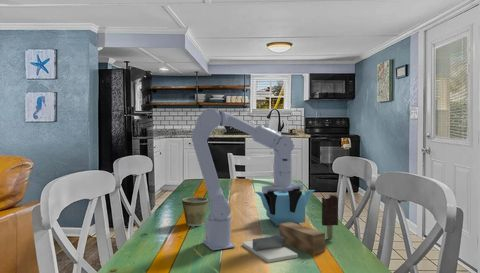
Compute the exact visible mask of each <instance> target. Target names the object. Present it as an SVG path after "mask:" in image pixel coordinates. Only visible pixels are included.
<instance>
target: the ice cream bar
mask: <svg viewBox="0 0 480 273" xmlns="http://www.w3.org/2000/svg"><path fill="white" fill-rule="evenodd" d="M321 225H322V226H323V227H325V226H326V228H327V230H326V233H327V234H326V237H327V239H328V240H331V239H332V238H333V229H334V228H333V226H338V225H339V197H338V196H337V195H335V194H329V195H328V197H321Z"/></svg>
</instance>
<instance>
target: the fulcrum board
mask: <svg viewBox="0 0 480 273" xmlns="http://www.w3.org/2000/svg"><path fill="white" fill-rule="evenodd" d="M241 246H243V247H244V248H246V249H247V250H249V251H250V252H252V254H255V255H256V256H257V257H259V258H260V259H262V260H263V261H265V262H266V263H274V262H279V261H280V262H281V261H286V260H292V259H296V258H299V253H297V252H295V251H293V250H291V249H290V248H288V247H286V244H285V237H283V236H281V235H279V234H278V235H274V236H266V237H259V238H254V239H253V238H252V240H248V241H242V245H241Z"/></svg>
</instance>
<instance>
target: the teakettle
mask: <svg viewBox="0 0 480 273" xmlns="http://www.w3.org/2000/svg"><path fill="white" fill-rule="evenodd" d="M279 190H282V189H279ZM315 191H316V190H315V189H309V190H306V191H305V193H303V192H302V195H301V197H300V198H299V200H298V203H297V206H296V210H295V213H293V212H290V201H289V194H288V191H280V192H274V193H275V194H276V195H277V198H276V205H275V215H272V214H270V210H269V206H268V203H267V201H266V199H265V197H264V195H263V193H262V191H254V193H255V194H257V195H258V196H259V197H260V199H261V203H262V206H263V208H264V209H265V210H266V217H267V218H268V219H269V220H270V222H273V223H274V224H275V225H274V227H278V228H279V224H282V223H287V222H292V223H295V224H299V225H301V224H305V223H306V208H307V205H308V203H309V202H308V201H309V198H310V195H311V194H312V193H314V192H315Z"/></svg>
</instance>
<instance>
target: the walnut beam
mask: <svg viewBox="0 0 480 273" xmlns="http://www.w3.org/2000/svg"><path fill="white" fill-rule="evenodd" d="M299 224H300V223H299ZM299 224H295V223H292V222H287V223H282V224H279V227H278V236H279V235H281V236H283V237H285V245H288V246H290V247H293V248H296V249H298V250H300V251H302V252H305V253H308V254H310V255H313V256H314V255H318V254H322V253H325V252H326V233H325V232H323V231H320V230H317V229H313V228H310V227H307V226H304V225H301V224H300V225H299Z"/></svg>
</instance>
